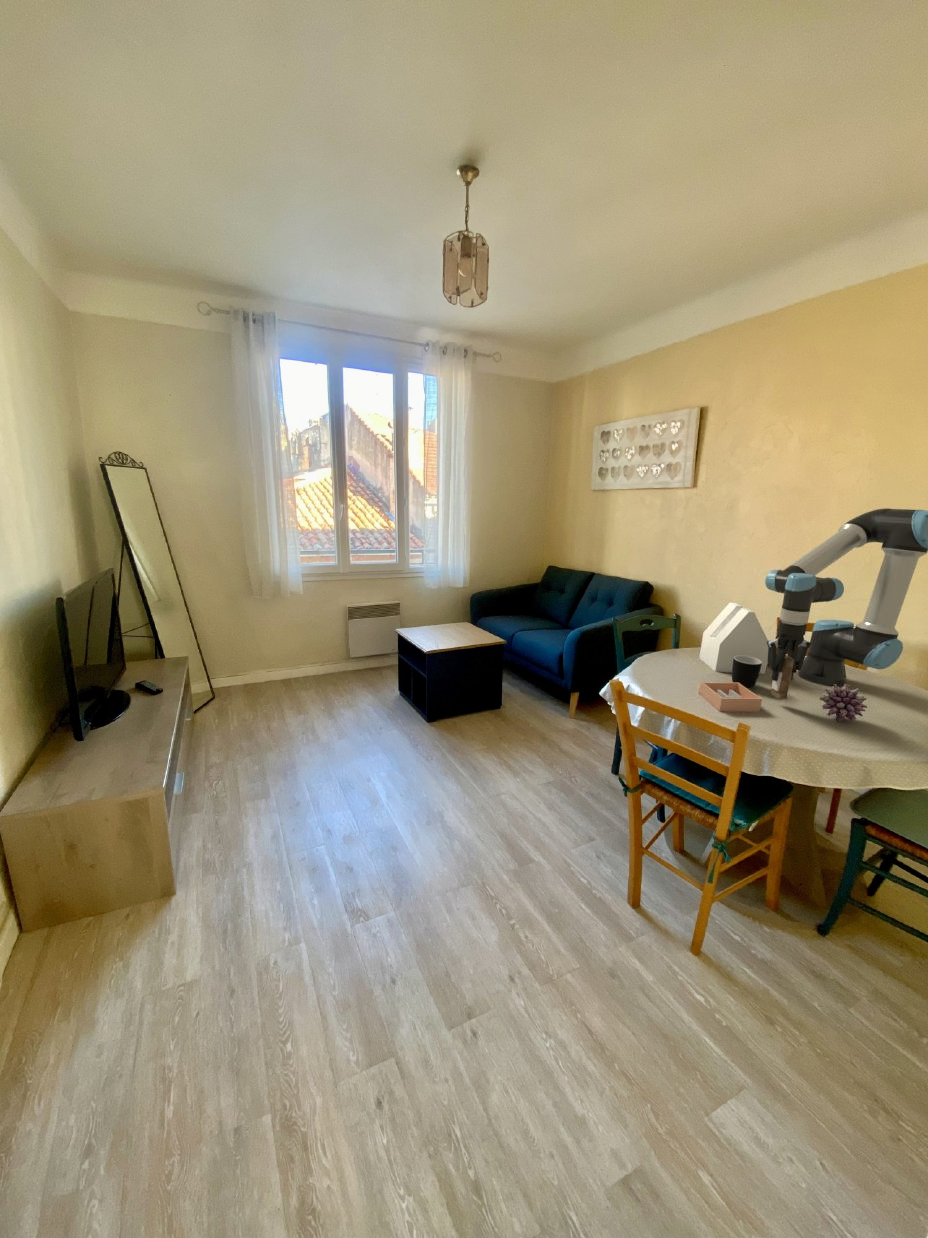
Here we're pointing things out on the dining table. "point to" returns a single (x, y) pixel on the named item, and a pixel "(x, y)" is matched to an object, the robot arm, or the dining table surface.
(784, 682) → the brown tall bar
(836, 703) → the purple spiky ball
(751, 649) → the white house-shaped block
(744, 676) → the mug
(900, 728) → the dining table surface
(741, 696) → the pink shallow tray
